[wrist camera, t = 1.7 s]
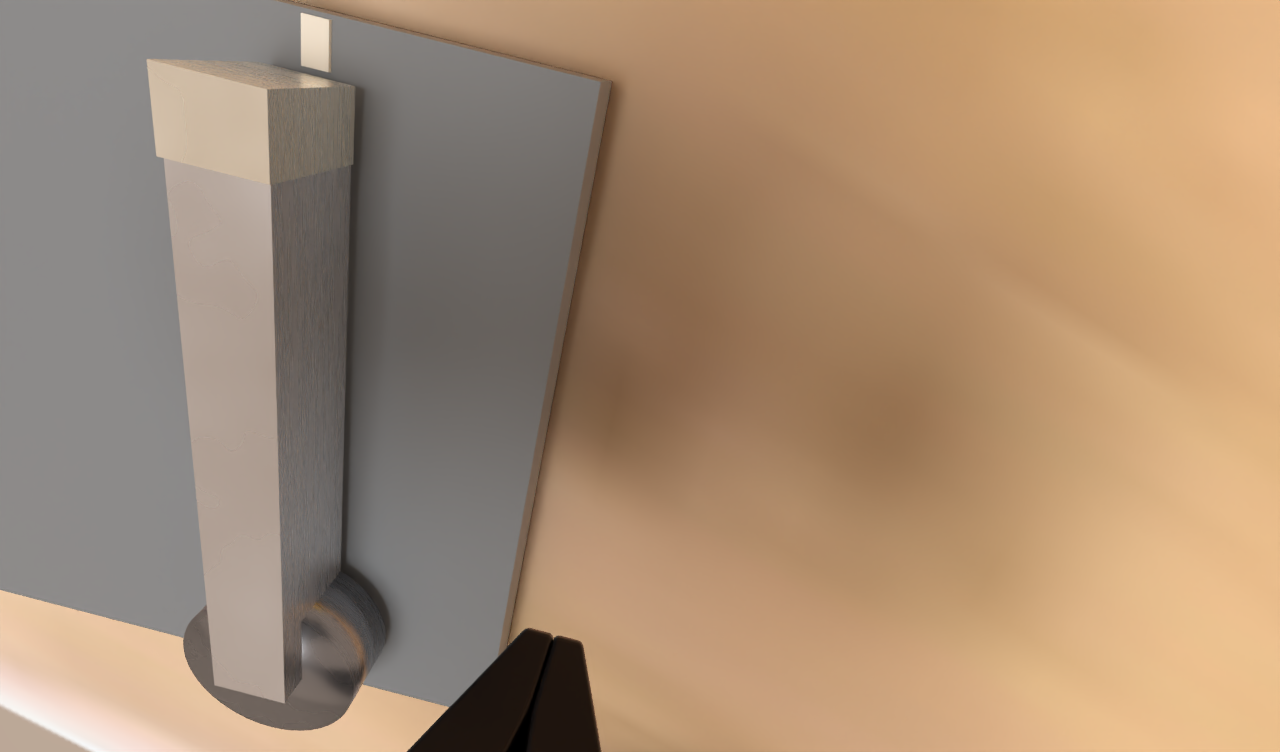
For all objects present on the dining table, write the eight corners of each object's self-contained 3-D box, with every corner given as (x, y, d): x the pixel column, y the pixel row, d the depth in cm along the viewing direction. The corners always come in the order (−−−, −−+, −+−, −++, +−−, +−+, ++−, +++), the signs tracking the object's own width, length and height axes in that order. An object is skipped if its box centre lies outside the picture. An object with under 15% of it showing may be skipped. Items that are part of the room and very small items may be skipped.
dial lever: (381, 690, 21) (334, 776, 19) (235, 652, 22) (167, 732, 19) (422, 103, 14) (350, 110, 11) (190, 45, 14) (63, 38, 11)
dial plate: (500, 679, 23) (486, 719, 22) (-36, 540, 24) (-85, 570, 22) (612, 80, 15) (600, 82, 13) (-238, -132, 15) (-340, -154, 13)
